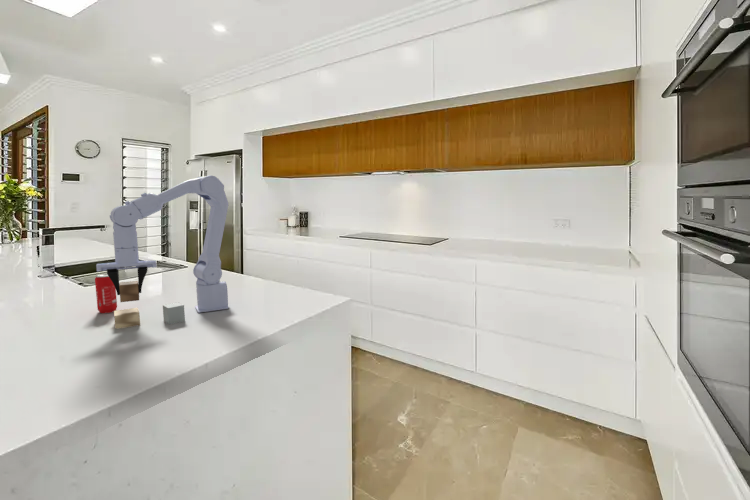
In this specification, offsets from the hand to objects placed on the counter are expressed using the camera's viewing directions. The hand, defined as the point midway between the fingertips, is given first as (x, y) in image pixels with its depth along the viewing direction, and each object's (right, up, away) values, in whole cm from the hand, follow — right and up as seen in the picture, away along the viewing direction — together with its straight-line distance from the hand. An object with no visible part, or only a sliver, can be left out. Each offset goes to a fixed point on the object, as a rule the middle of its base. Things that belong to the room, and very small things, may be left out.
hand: (129, 293), depth 110 cm
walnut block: (0, -2, 0) cm, 2 cm away
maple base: (-1, -9, 0) cm, 9 cm away
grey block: (+11, -9, +3) cm, 15 cm away
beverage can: (-15, -8, +12) cm, 21 cm away
